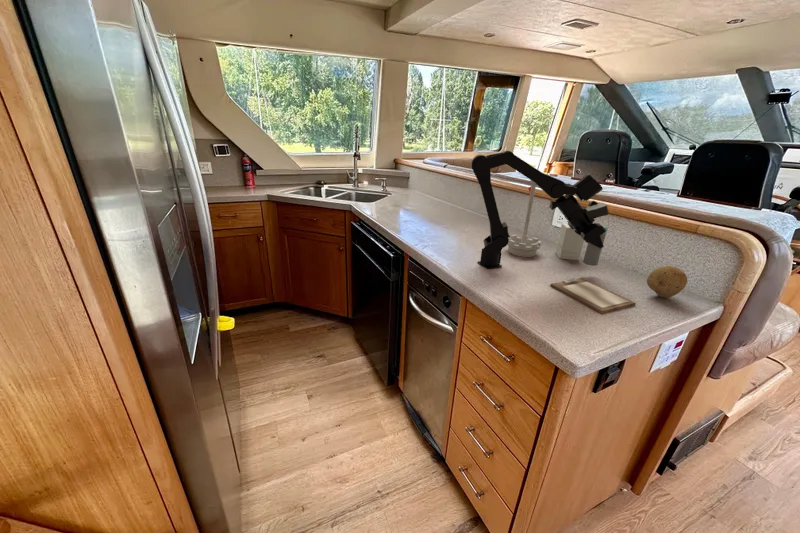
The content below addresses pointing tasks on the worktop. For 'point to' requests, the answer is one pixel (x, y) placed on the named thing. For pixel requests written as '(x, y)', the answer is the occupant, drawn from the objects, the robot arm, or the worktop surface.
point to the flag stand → (525, 234)
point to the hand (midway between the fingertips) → (599, 245)
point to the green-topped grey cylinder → (594, 251)
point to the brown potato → (667, 281)
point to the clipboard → (592, 295)
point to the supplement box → (569, 243)
